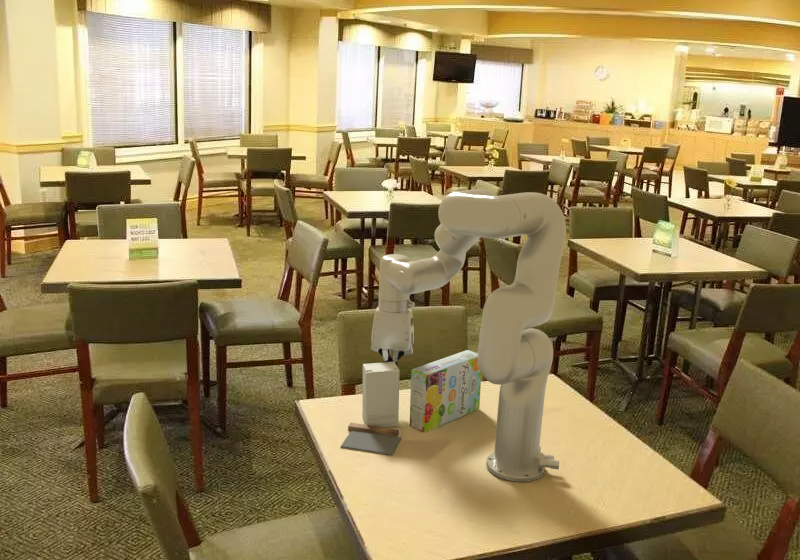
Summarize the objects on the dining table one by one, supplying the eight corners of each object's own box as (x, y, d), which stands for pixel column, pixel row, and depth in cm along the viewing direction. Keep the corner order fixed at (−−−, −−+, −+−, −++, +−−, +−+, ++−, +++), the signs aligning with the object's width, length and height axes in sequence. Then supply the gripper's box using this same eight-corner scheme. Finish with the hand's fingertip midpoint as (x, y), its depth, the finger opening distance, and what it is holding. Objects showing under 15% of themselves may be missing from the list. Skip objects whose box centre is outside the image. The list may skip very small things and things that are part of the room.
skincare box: (393, 416, 186) (396, 360, 182) (398, 427, 181) (401, 369, 177) (360, 418, 184) (362, 362, 181) (364, 429, 179) (366, 371, 175)
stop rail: (399, 434, 177) (399, 429, 177) (397, 438, 175) (397, 433, 175) (350, 427, 180) (350, 422, 179) (348, 430, 178) (348, 425, 177)
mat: (401, 438, 175) (401, 437, 175) (392, 455, 167) (392, 453, 167) (351, 431, 177) (351, 429, 177) (340, 447, 169) (340, 445, 169)
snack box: (463, 402, 196) (467, 348, 193) (480, 409, 193) (484, 354, 189) (407, 426, 182) (410, 367, 178) (424, 434, 178) (427, 374, 174)
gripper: (426, 304, 186) (422, 372, 191) (368, 297, 190) (366, 365, 194) (420, 312, 179) (416, 383, 184) (360, 305, 183) (358, 375, 187)
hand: (390, 374), depth 189 cm, fingers closed
